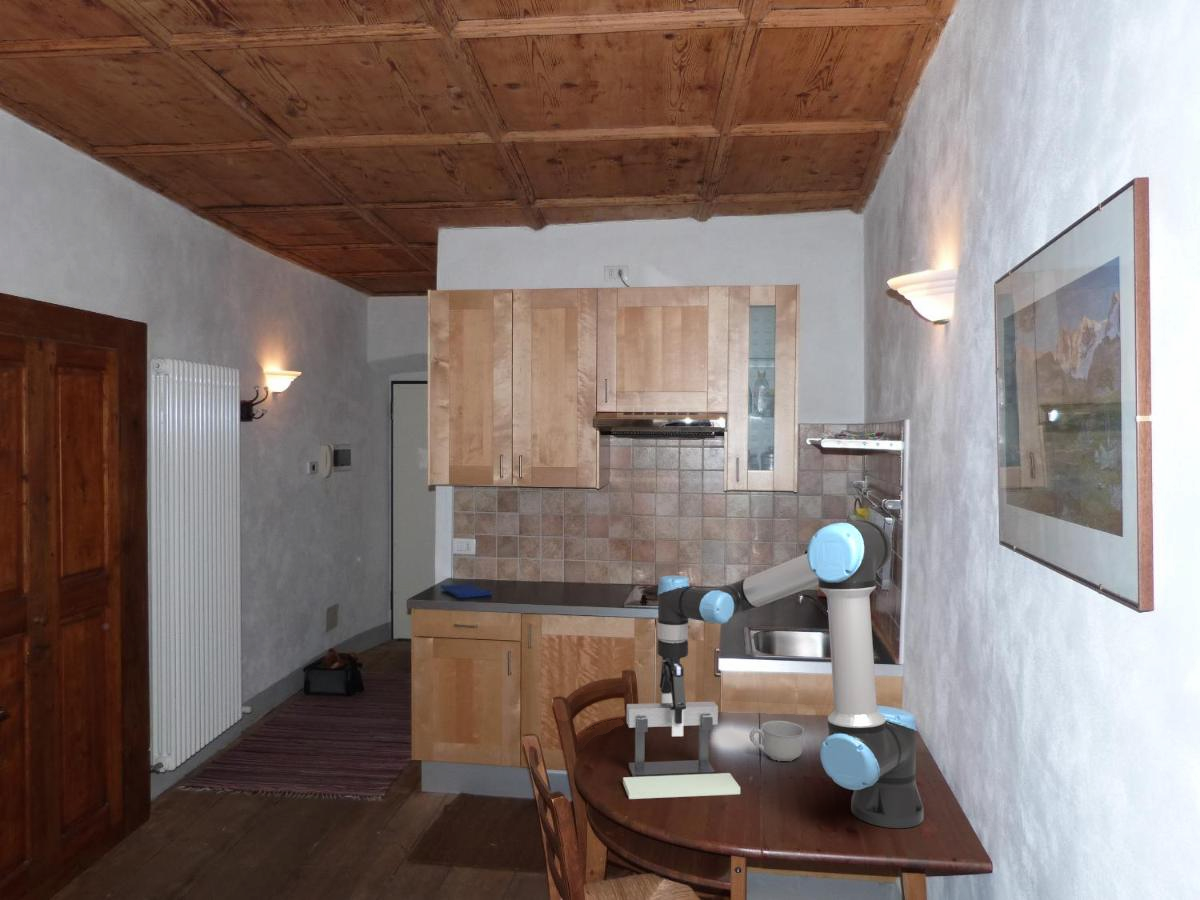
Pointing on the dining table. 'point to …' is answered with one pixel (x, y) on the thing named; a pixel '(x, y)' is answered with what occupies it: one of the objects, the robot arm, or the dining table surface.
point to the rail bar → (670, 713)
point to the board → (680, 785)
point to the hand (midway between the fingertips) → (672, 727)
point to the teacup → (780, 740)
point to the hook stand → (672, 767)
